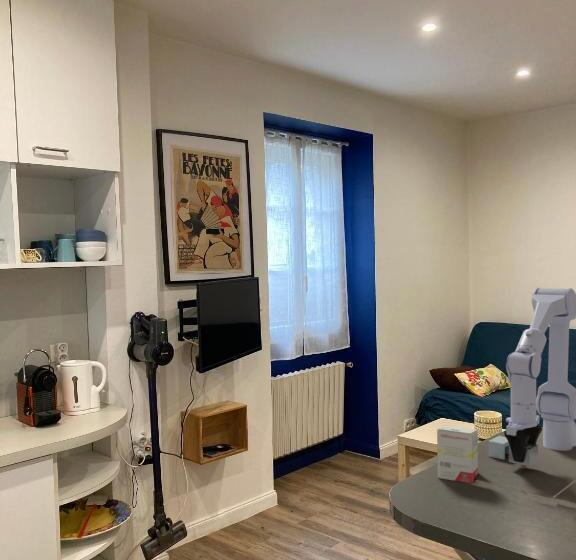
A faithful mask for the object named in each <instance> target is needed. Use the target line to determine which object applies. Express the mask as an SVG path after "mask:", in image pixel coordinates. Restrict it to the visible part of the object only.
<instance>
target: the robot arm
mask: <svg viewBox="0 0 576 560" xmlns="http://www.w3.org/2000/svg"><path fill="white" fill-rule="evenodd" d="M531 305H532V309H533V315H532V319H531V322H530V326H529V328H527V329H525V330H523V332H522V334H521V337H520V339H519V342H518V344H517V346H516V349H515V351H513V352H511V353H509V355H508V356H507V358H506V364H505V368H506V373H507V377H508V378H507V379H508V380H507V381H508V383H509V384H510V417H507V418H505V421H506V423H508V425H506V428H505V429H506V430H504V431H503V434H504V437H506V439H507V440H508V443H509V445H510V448H511V452H512V456H513V459H514V461H516V462H520V463H523V461H524V458H525V450H526V445H527V443H531V444H536V445H537V441H538V438H539V437H540V436H541V435H540V434H541V433H542V432H543V433H542V442H543V443H542V446H543V447H544V448H546V449H548V450H553V451H558V452H559V451H563V452H565V451H571V450H573V448H574V447H576V422H575V420H576V387H575V386H573V385H572V384H570V382H569V381H568V380H569V379H568V378H569V377H568V376H569V375H568V373H569V371H568V370H569V347H570V345H569V344H570V343H569V342H570V341H569V340H570V323H571V321H573V320H576V291H575V290H574V289H573V288H571V287H570V288H545V287H544V288H541V287H536V288H535V289H534V290H533V292H532V294H531ZM548 327H549V332H548V336H549V337H548V365H547V366H548V367H547V372H548V373H547V381H546V382H544V383H542V384H541V385H540V386H539V387H538V389H537V378H538V376H539V375H540V372H541V365H542V364H541V363H542V360H543V359H542V355H543V354H542V353H543V351H544V349H545V345H546V343H547V337H546V335H545V333H546V331H547V330H548ZM537 413H538V414H537ZM540 418H542V421H543V422H542V426H538V424H539V425H540Z"/></svg>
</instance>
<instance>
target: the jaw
mask: <svg viewBox="0 0 576 560" xmlns="http://www.w3.org/2000/svg"><path fill="white" fill-rule="evenodd" d="M538 462H539V445H538V444H537V443H536V444H531V443H527V445H526V450H525V458H524V461H523V463H520V462H516V461H514V459H513V456H512V452H511V448H510V445H509V454H508V463H513V464H518V465H520V464H521V465H525V466H527V467H531V466H533V465H535V464H536V463H538Z"/></svg>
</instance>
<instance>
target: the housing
mask: <svg viewBox="0 0 576 560" xmlns="http://www.w3.org/2000/svg"><path fill="white" fill-rule="evenodd" d="M506 454H508V455H509V443H508V440H507V439H506V437H505V436H501V435H498V436H496V437H493V438H492V439H490V440H488V457H490V458H494V459H499V460H506Z"/></svg>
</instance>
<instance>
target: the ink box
mask: <svg viewBox="0 0 576 560" xmlns="http://www.w3.org/2000/svg"><path fill="white" fill-rule="evenodd" d="M436 437H437V438H436V441H437V442H436V443H437V444H436V445H437V454H436V455H437V478H438V479H442V480H448V481H449V480H450V481H453V482H460V483H464V484H465V483H466V484H472V485H473V484H475V482H476V481H477V480H478V479H477V478H475V477H477V476H478V474H479V451H478V450H479V448H478V447H479V442H478V441H479V440H478V439H479V438H478V437H479V431H478V429H473V428H467V427H459V426H452V425H446V424H445V425H442V426H440V427H438V428H437V429H436Z"/></svg>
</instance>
